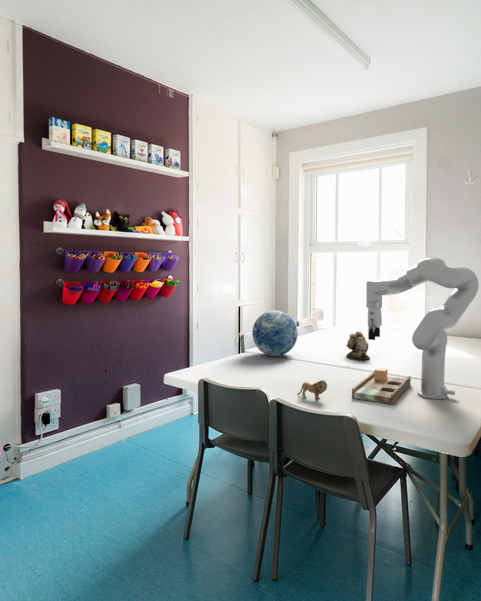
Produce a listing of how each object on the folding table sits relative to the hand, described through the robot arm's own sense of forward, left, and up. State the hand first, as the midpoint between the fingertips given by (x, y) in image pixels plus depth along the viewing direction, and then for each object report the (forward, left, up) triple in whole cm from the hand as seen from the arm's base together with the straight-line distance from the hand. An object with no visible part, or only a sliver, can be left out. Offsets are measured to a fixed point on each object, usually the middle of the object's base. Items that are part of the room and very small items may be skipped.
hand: (374, 338), depth 220 cm
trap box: (-8, +15, -22) cm, 28 cm away
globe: (+74, -31, -23) cm, 83 cm away
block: (-5, +5, -19) cm, 21 cm away
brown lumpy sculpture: (+25, -50, -23) cm, 60 cm away
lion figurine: (+16, +40, -23) cm, 49 cm away
